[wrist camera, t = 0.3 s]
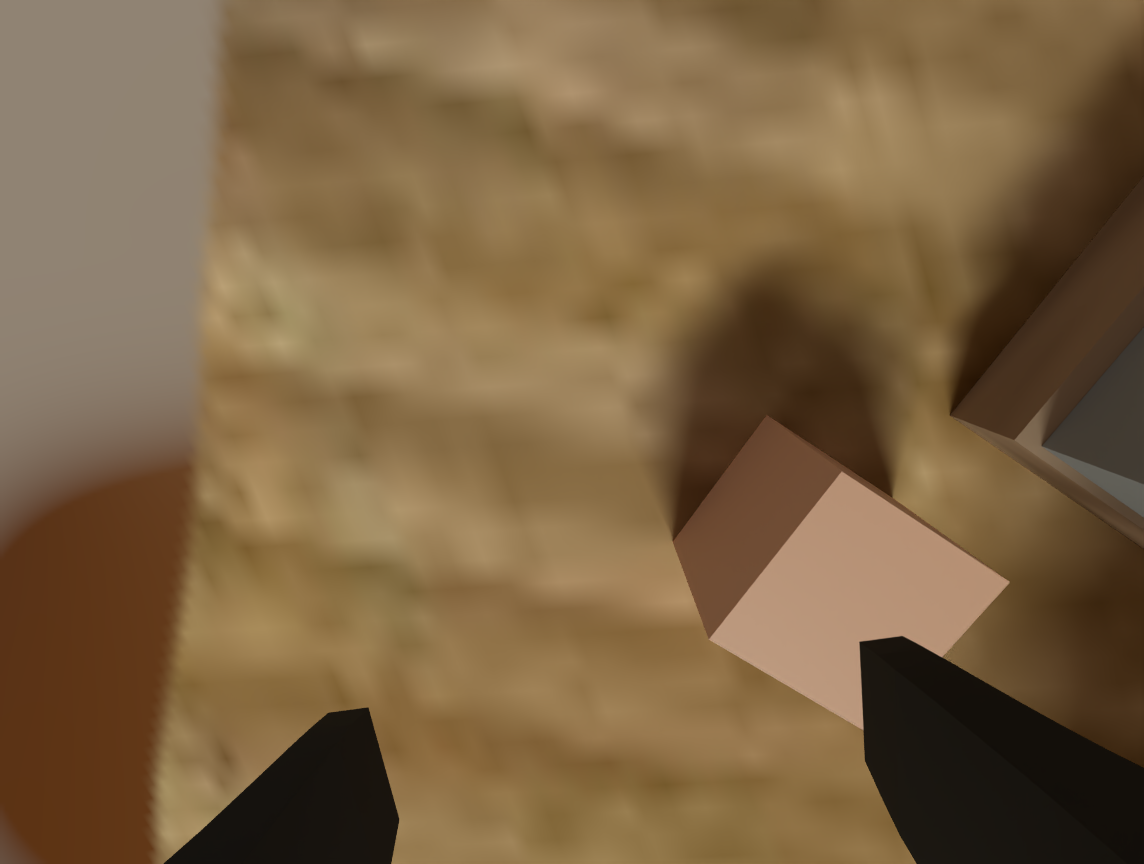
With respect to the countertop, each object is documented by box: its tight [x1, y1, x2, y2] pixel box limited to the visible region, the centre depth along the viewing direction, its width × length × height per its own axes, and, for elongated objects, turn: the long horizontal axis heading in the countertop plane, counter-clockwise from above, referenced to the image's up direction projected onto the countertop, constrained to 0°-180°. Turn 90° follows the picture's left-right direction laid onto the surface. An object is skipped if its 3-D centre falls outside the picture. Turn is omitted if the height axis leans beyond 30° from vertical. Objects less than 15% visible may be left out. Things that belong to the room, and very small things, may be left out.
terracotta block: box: [673, 415, 1010, 730], centre depth 16 cm, size 4×4×5 cm
